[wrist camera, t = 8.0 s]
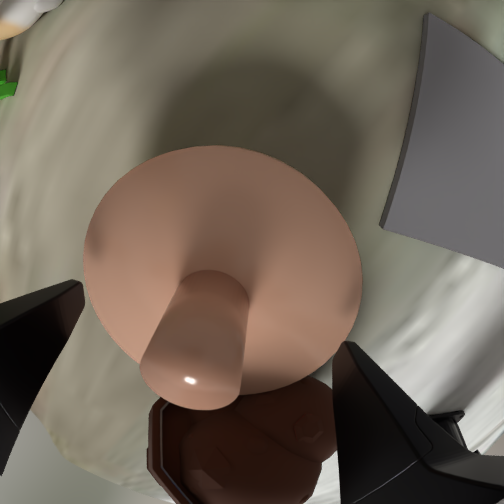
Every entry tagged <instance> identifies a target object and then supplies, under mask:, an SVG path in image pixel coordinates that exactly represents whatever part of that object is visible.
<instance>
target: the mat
mask: <svg viewBox="0 0 504 504" xmlns="http://www.w3.org/2000/svg"><path fill="white" fill-rule="evenodd" d="M379 226H380V227H381V228H382V229H384V230H388V231H391V232H395V233H398V234H401V235H405V236H408V237H411V238H415V239H418V240H421V241H424V242H428V243H431V244H434V245H437V246H440V247H443V248H446V249H449V250H452V251H455V252H458V253H461V254H464V255H467V256H470V257H473V258H476V259H479V260H482V261H484V262H487V263H490V264H493V265H495V266H498V267H501V268H503V269H504V64H503V63H502V62H501V61H499V60H498V59H497V58H496V57H495V56H493V55H492V54H491V53H490V52H488V51H487V50H486V49H484V48H483V47H482V46H480V45H479V44H478V43H476V42H475V41H474V40H472V39H471V38H469V37H468V36H466V35H465V34H463V33H462V32H460V31H459V30H457V29H456V28H454V27H453V26H451V25H450V24H448V23H446V22H445V21H443V20H441V19H440V18H438V17H436V16H434V15H433V14H431V13H427V14H425V15H424V19H423V31H422V41H421V50H420V58H419V65H418V72H417V78H416V84H415V90H414V96H413V101H412V106H411V111H410V116H409V120H408V125H407V129H406V134H405V138H404V142H403V146H402V150H401V154H400V158H399V161H398V165H397V169H396V172H395V176H394V179H393V183H392V186H391V190H390V193H389V196H388V199H387V202H386V206H385V209H384V212H383V215H382V218H381V221H380V224H379Z"/></svg>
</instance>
